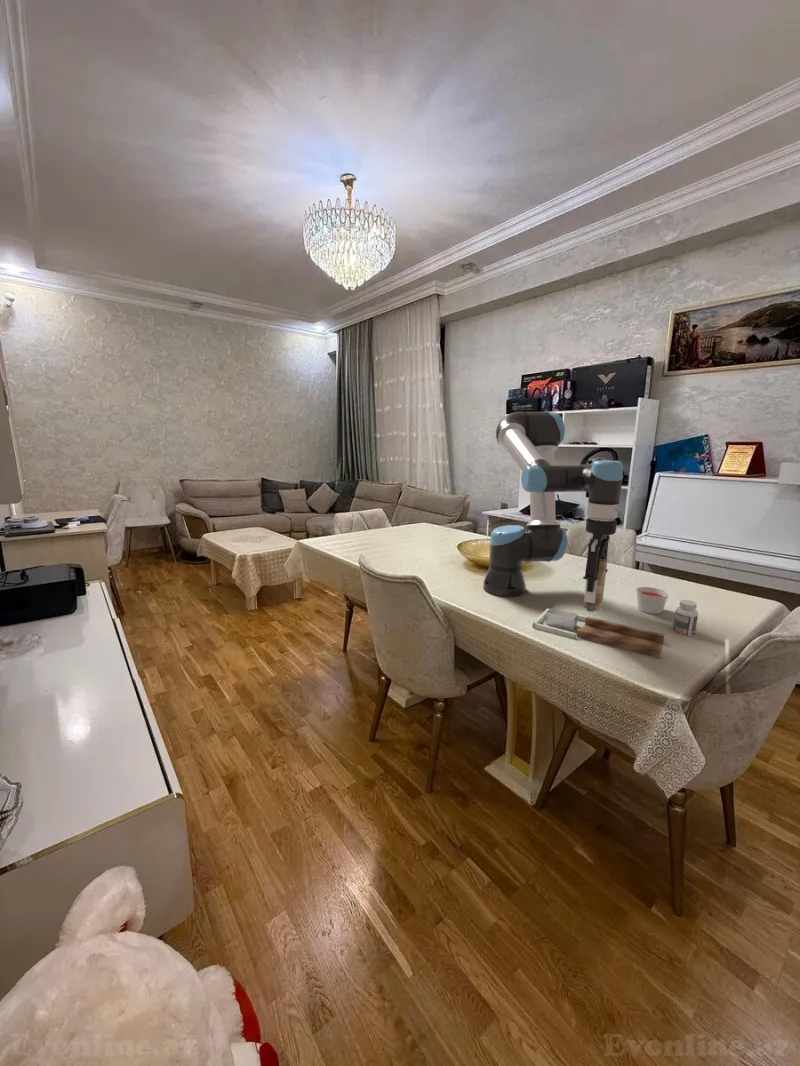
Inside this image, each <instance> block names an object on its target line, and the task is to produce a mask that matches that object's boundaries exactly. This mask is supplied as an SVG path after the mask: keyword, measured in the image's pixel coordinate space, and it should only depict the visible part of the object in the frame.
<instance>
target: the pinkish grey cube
mask: <svg viewBox="0 0 800 1066" xmlns="http://www.w3.org/2000/svg"><path fill="white" fill-rule="evenodd" d="M563 611H564V612H563V613H562V614H561V615H560V622H559V627H558V628H560V629H565V630H568V631H569V630H570V631H571V632H572V631H574V630H575V629H576V627H577V626H578V620H577V619H578V615H579V614H578V613H574V612H570V611H565V610H563Z"/></svg>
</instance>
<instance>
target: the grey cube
mask: <svg viewBox="0 0 800 1066" xmlns="http://www.w3.org/2000/svg"><path fill="white" fill-rule="evenodd" d="M549 608H550V609H549V610H548V611H547V612H546V617H545V622H544V623H545V624H544V625H548V626H549V625H550V626H552V627H556V628H560V627H559V622H560V615H561V614H562V613H563V612H564V611H565V610H562V609H557V608H552V607H549Z"/></svg>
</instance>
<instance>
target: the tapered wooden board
mask: <svg viewBox="0 0 800 1066" xmlns="http://www.w3.org/2000/svg"><path fill="white" fill-rule="evenodd" d="M607 566H608V559H607V560H605V559H600V564H599V569H598V574H597V580H598V581H597V590H596V599H595V603H590V602H586V601H584V600H583V608H584V609H585V610H586V611H587V612H591V613H593V612H594V611H597V612H599V611H600V610H601V609H602V607H603V599H604V592H605V585H606V583H605V582H606V576H607V575H606V574H607V572H606V569H607ZM590 576H591V575H590Z"/></svg>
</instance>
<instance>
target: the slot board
mask: <svg viewBox="0 0 800 1066" xmlns="http://www.w3.org/2000/svg"><path fill="white" fill-rule="evenodd" d="M576 638H580V639H584V640H588V641H591V642H595V643H600V644H604V645H606V646H611V647H615V648H619V649H623V650H625V651H626V650H627V651H631V652H633V653H636V654H637V653H638V654H642V655H645V656H650V657H653V658H656V659H660V656H661V653H662V651H663V646H664V645H663V644H664V641H665V634H664V633H660V632H656V631H655V632H654V631H651V630H646V629H642V628H638V627H633V626H630V625H625V624H621V623H615V622H612V621H609V620H604V619H600V618H596V617H595V618H594V617H590V616H586V620H585V621H584V625H583V627H582V628H581V627H579V628H578V629H576Z"/></svg>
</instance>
